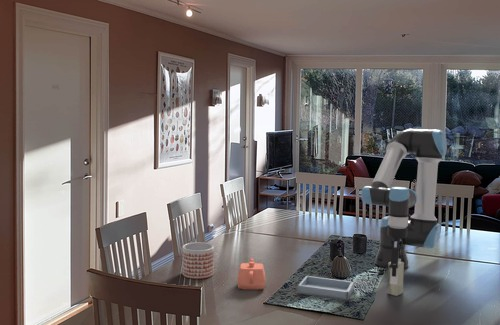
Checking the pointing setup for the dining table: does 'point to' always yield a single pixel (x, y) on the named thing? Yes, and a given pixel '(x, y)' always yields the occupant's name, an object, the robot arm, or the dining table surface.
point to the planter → (198, 260)
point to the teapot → (251, 276)
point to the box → (397, 288)
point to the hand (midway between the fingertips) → (395, 279)
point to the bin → (326, 287)
